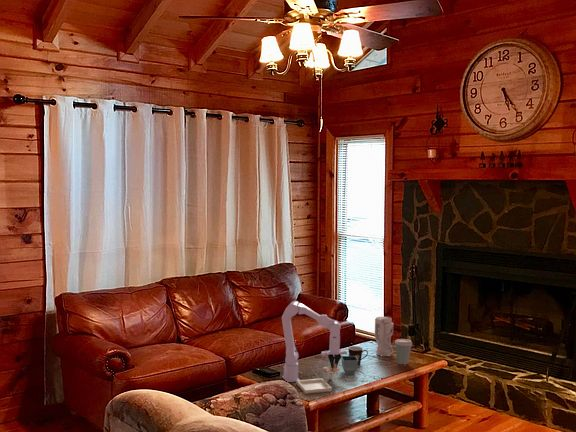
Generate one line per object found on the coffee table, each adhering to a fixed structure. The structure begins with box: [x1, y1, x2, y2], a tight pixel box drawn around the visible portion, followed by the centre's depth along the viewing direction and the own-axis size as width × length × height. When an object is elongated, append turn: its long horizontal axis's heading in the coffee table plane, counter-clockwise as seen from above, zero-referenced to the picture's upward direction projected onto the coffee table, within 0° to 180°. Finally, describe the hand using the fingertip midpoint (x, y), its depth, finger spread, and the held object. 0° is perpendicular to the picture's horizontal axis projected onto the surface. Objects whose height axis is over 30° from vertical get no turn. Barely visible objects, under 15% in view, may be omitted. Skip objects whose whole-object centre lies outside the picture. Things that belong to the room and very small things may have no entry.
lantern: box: [374, 316, 395, 357], centre depth 393 cm, size 13×10×25 cm
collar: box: [322, 363, 340, 373], centre depth 343 cm, size 10×7×4 cm
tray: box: [296, 377, 333, 395], centre depth 334 cm, size 15×15×2 cm
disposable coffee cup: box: [394, 338, 413, 365], centre depth 377 cm, size 11×11×15 cm
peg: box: [327, 372, 333, 381], centre depth 346 cm, size 2×2×4 cm
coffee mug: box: [347, 345, 369, 366], centre depth 374 cm, size 12×9×10 cm
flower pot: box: [340, 355, 359, 375], centre depth 358 cm, size 9×9×9 cm
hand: (333, 367), depth 341 cm, fingers closed on collar
